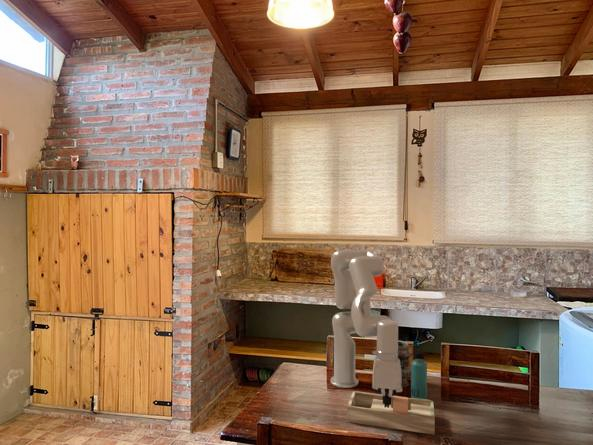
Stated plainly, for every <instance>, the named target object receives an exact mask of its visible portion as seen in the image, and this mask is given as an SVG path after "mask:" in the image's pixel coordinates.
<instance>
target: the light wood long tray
mask: <svg viewBox="0 0 593 445" xmlns="http://www.w3.org/2000/svg"><path fill="white" fill-rule="evenodd" d="M394 396H395V395H392V397H391V405H389V408H387V407H384V404H383V396H382V394H381V393H379V394H378V393H370V392H363V391H356V390H355V391H354V390H353V391H352V394H351V396H350V399H349V401H348V404H347V405H346V406H347V407H346V408H347V409H346V414H347V416H346V418H347V419H346V422H347V423H353V424H360V425H368V426H375V427H381V428H386V429H387V428H388V429H393V430H394V429H395V430H401V431H407V432H415V433H422V434H428V435H432V436H433V435H435V433H436V432H435V431H436V430H435V428H436V427H435V426H436V424H435V423H436V422H435V421H436V420H435V419H436V417H435V408H434V407H435V406H434V401H433V400H431V399H418V398H412V397H407V398H408V414H407V413H400V412H393V398H394Z"/></svg>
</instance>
